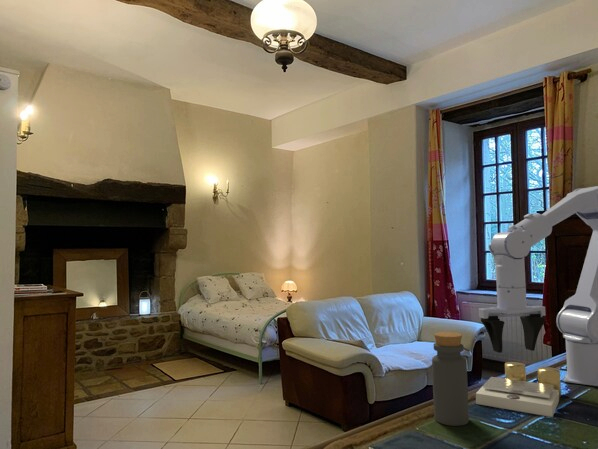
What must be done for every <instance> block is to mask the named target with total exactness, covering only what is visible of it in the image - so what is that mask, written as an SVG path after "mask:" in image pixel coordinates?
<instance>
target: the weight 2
mask: <svg viewBox="0 0 598 449" xmlns="http://www.w3.org/2000/svg"><path fill="white" fill-rule="evenodd" d="M537 383H541V384H548V385H554V390H559V398H560V397H562V388H561V387H562V386H561V371H560V369H558V368H556V367H549V366H539V367H537Z"/></svg>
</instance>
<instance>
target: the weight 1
mask: <svg viewBox="0 0 598 449" xmlns="http://www.w3.org/2000/svg"><path fill="white" fill-rule="evenodd" d="M504 374H505V375H504V377H505V378H504V379H512V380H519V381H526V382H527V376H526V375H527V373H526V364H525V363H522V362H516V361H508V362H507V361H505V363H504Z"/></svg>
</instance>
